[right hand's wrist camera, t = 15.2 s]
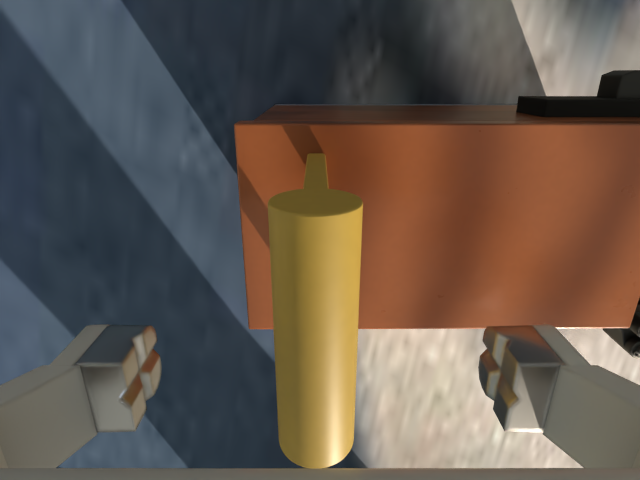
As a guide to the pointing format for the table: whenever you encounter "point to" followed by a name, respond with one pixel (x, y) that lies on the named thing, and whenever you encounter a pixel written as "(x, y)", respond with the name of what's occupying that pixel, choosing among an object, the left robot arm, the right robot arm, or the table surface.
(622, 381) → the right robot arm
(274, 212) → the wooden door with handle
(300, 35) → the table surface
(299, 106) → the chest
